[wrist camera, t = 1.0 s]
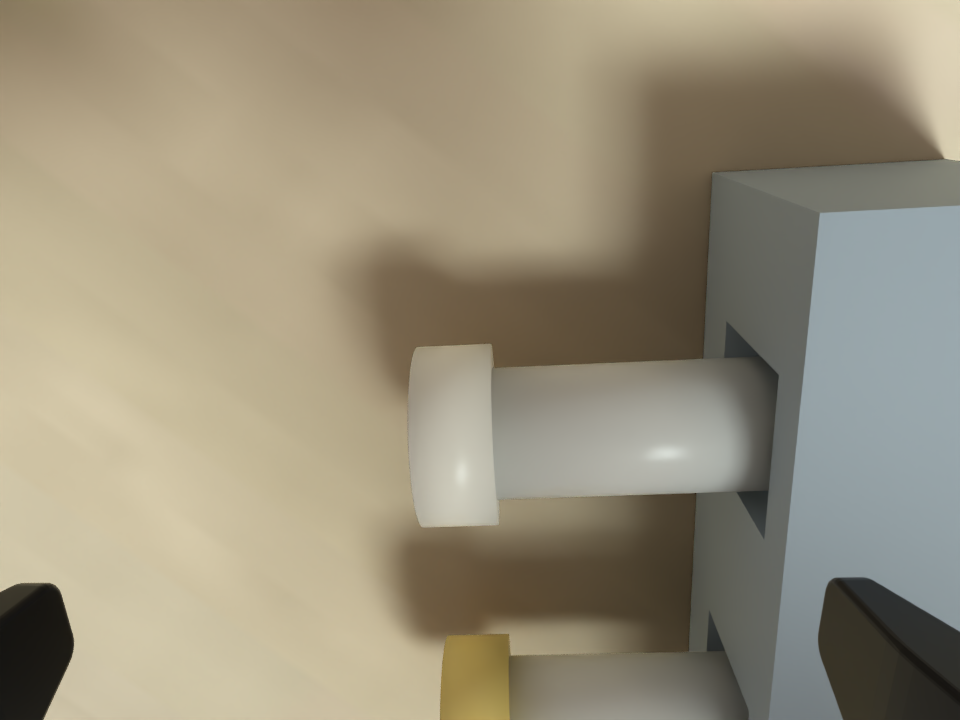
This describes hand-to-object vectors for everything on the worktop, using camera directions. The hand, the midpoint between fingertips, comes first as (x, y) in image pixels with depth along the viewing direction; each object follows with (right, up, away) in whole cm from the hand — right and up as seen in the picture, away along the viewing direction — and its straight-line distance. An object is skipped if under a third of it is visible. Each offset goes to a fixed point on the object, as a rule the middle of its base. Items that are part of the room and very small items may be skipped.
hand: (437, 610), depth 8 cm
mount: (+10, -1, +14) cm, 17 cm away
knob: (+3, +2, +11) cm, 12 cm away
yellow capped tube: (+4, -6, +14) cm, 16 cm away
